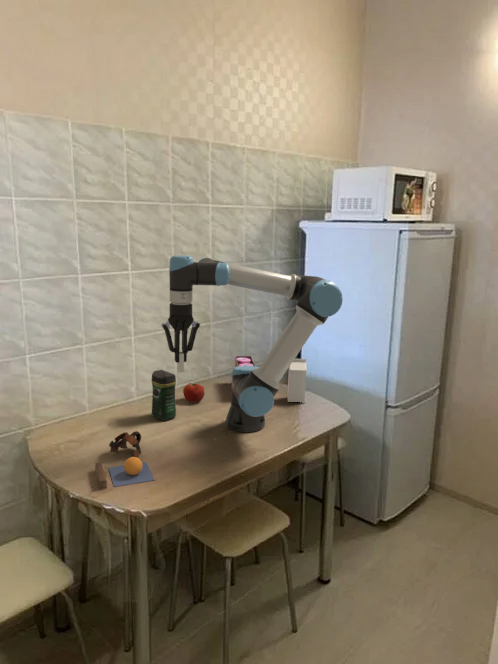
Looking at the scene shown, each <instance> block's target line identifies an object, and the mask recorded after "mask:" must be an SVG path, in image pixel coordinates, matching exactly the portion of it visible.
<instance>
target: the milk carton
mask: <svg viewBox="0 0 498 664" xmlns="http://www.w3.org/2000/svg"><path fill="white" fill-rule="evenodd" d="M307 368H308V367H307V358H295V359H294V360H293V362H292V363H291V365H290V366H289V368H288V376H287V393H286V394H287V396H286V397H287V403H288V402H300V403H299V404H304V403H305V401H306V400H305V399H306V386H307ZM301 402H302V403H301ZM303 402H304V403H303Z"/></svg>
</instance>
